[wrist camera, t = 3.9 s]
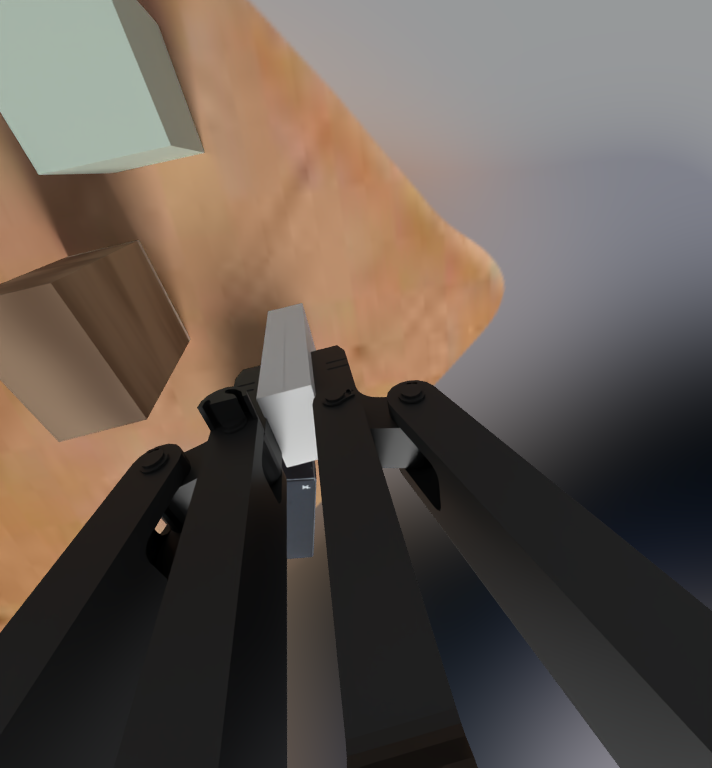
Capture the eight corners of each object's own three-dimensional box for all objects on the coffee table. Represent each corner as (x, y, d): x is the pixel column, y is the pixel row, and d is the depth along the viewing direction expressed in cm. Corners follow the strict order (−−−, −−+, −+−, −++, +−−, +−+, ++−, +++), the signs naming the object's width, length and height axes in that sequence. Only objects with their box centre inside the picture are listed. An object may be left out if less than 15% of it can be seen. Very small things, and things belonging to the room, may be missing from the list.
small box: (242, 398, 32) (227, 483, 24) (310, 396, 34) (320, 476, 25) (250, 476, 38) (241, 567, 29) (309, 472, 39) (316, 558, 31)
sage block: (113, 173, 22) (38, 174, 15) (49, 46, 19) (-82, -23, 12) (204, 152, 22) (170, 145, 15) (157, 24, 19) (89, -55, 12)
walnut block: (131, 353, 28) (59, 442, 19) (68, 256, 24) (-66, 310, 15) (190, 339, 28) (146, 419, 19) (139, 239, 24) (50, 283, 15)
